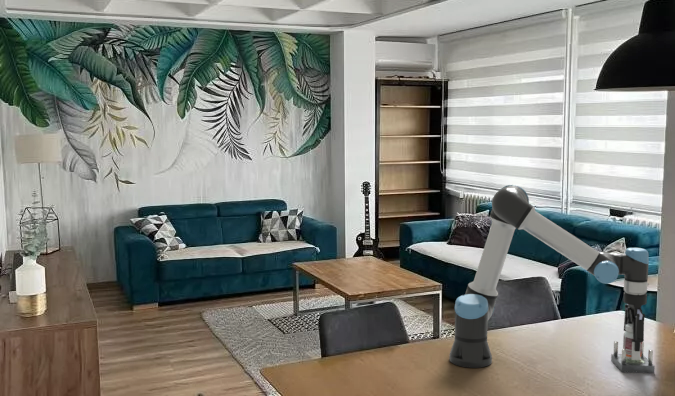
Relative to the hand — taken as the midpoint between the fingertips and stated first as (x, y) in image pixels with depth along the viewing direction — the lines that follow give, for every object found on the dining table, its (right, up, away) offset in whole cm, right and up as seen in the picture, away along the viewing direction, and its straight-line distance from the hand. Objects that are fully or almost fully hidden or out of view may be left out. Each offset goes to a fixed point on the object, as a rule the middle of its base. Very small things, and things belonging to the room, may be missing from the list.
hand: (632, 356), depth 253 cm
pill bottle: (0, 0, 0) cm, 1 cm away
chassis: (0, -4, 0) cm, 4 cm away
